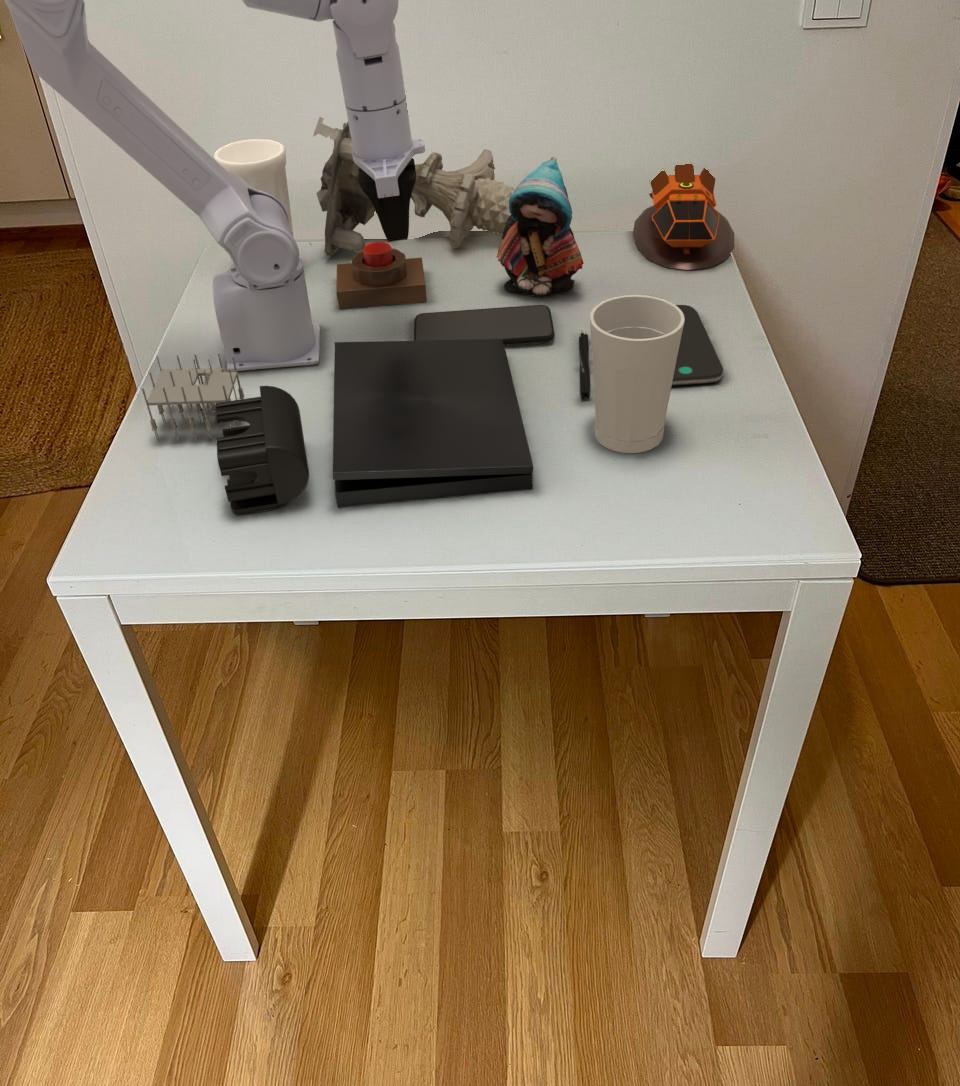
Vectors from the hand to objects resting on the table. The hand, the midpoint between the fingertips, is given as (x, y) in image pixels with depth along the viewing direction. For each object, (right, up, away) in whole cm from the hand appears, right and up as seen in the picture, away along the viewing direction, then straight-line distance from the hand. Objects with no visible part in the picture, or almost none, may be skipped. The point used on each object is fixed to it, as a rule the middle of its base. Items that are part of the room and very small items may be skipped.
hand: (397, 237), depth 103 cm
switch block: (-3, -2, +14) cm, 14 cm away
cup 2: (+22, -21, -9) cm, 32 cm away
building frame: (-18, -20, -6) cm, 28 cm away
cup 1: (-17, +1, +19) cm, 25 cm away
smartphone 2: (+28, -11, +2) cm, 31 cm away
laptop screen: (+3, -19, -9) cm, 21 cm away
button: (-3, +1, +11) cm, 12 cm away
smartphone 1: (+9, -9, +6) cm, 14 cm away
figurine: (+15, -3, +12) cm, 20 cm away
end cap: (-10, -26, -13) cm, 30 cm away
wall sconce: (0, +1, +21) cm, 21 cm away
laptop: (+3, -20, -8) cm, 22 cm away
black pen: (+19, -14, -1) cm, 23 cm away
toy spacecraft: (+34, +7, +22) cm, 41 cm away
